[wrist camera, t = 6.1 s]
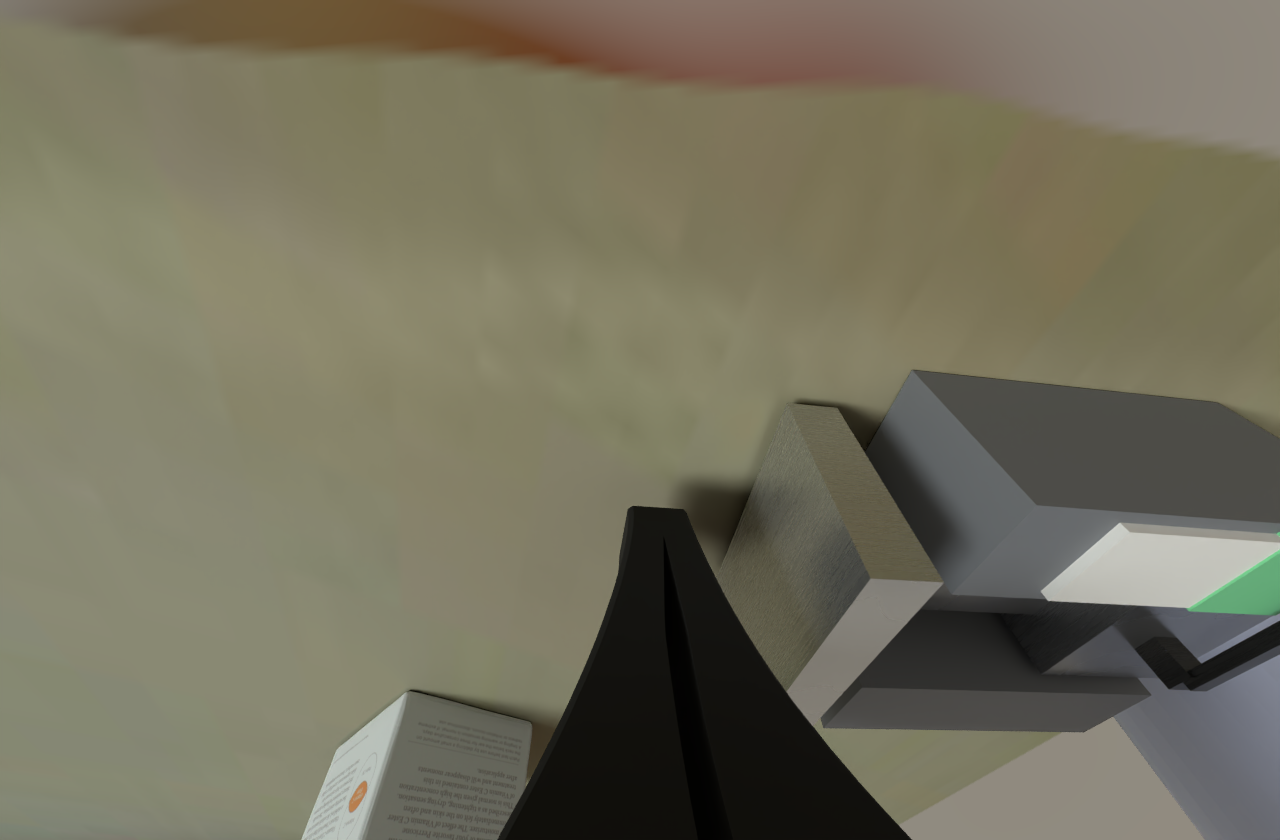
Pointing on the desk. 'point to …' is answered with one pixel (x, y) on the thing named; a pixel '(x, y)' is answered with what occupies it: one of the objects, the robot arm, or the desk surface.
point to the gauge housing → (1059, 538)
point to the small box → (424, 775)
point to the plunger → (918, 585)
